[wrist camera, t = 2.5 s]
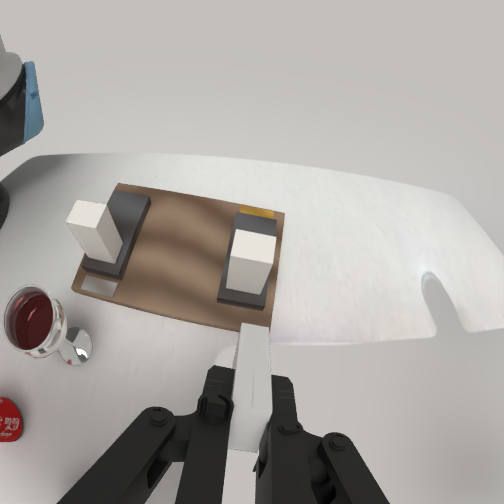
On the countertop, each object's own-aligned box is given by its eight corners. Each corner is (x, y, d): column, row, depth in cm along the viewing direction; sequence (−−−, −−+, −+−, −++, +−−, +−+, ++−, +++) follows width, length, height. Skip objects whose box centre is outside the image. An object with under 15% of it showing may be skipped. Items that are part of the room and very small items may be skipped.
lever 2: (259, 294, 35) (272, 263, 29) (225, 288, 35) (230, 255, 28) (263, 271, 37) (276, 237, 30) (230, 265, 37) (236, 229, 30)
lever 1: (115, 263, 35) (95, 228, 28) (88, 257, 35) (65, 221, 28) (123, 243, 36) (106, 204, 29) (96, 237, 36) (76, 199, 29)
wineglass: (96, 375, 31) (51, 358, 21) (51, 368, 30) (-3, 347, 20) (100, 322, 34) (61, 286, 24) (56, 318, 33) (9, 281, 23)
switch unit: (267, 337, 36) (271, 331, 34) (74, 291, 35) (65, 282, 33) (283, 217, 45) (287, 205, 43) (119, 187, 44) (115, 175, 42)
